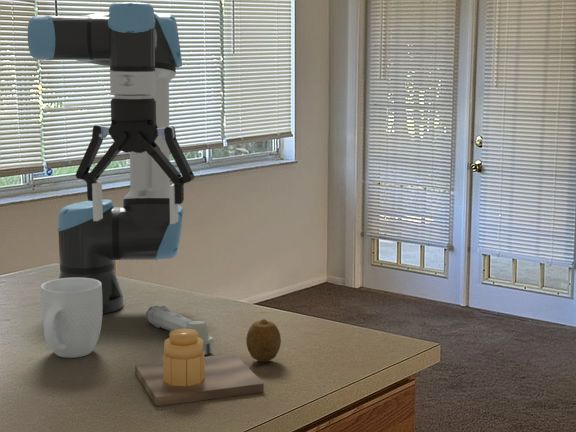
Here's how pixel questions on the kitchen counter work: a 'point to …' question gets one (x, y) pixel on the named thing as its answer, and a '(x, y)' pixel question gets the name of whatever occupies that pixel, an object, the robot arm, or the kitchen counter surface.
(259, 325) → the fruit
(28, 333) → the kitchen counter surface
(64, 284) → the mug
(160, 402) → the post board
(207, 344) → the electric scrub brush
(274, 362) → the kitchen counter surface
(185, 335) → the acorn cap nut
